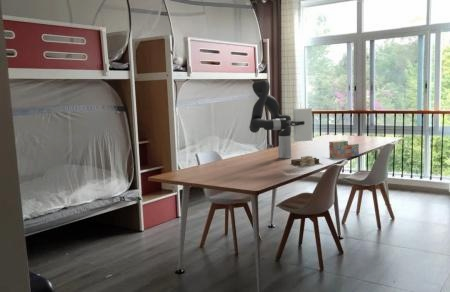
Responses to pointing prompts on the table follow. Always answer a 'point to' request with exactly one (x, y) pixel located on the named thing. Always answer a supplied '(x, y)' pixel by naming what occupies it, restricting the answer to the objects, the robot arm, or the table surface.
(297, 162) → the walnut rack
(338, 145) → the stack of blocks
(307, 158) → the offcut stack
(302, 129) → the tall board
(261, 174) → the table surface
